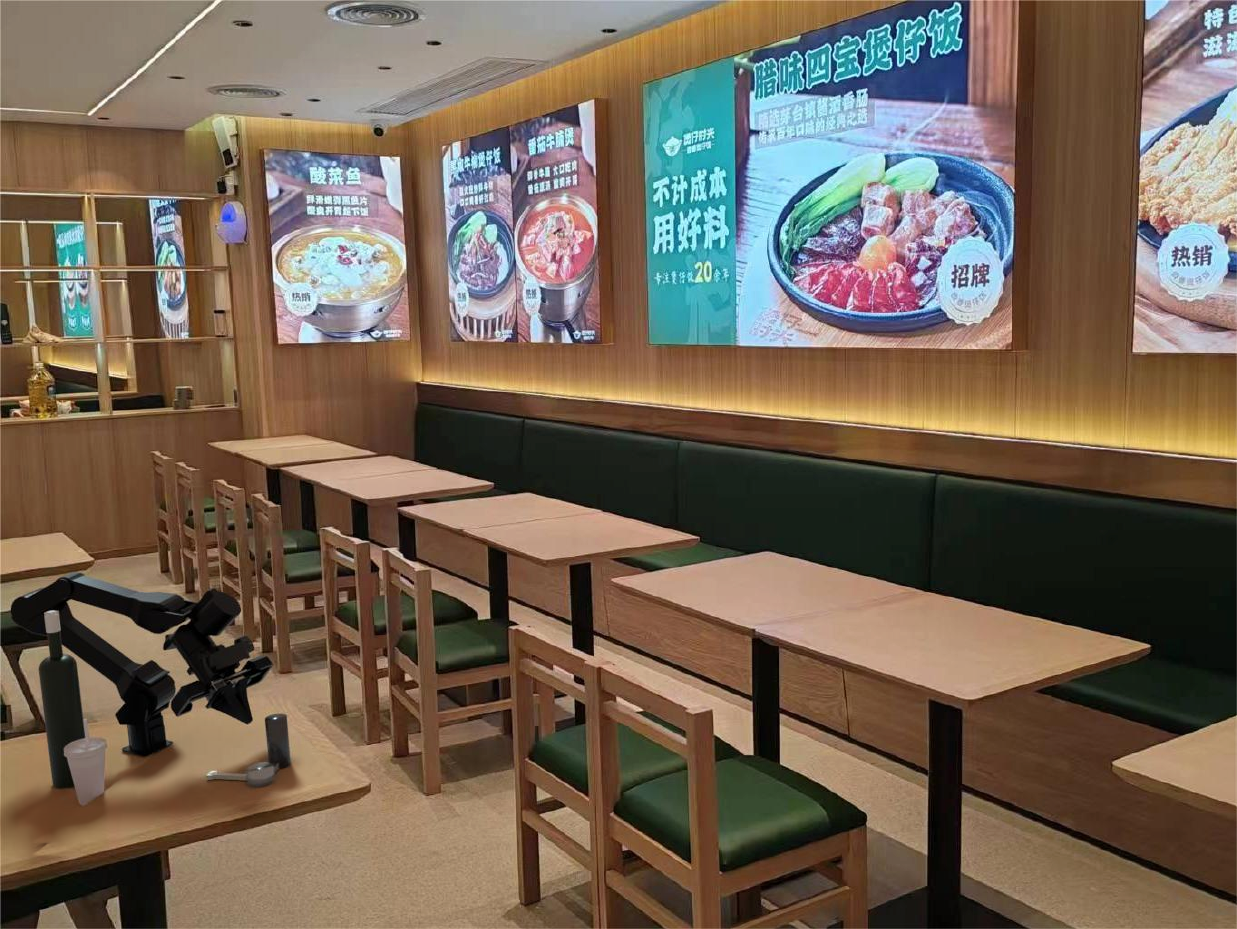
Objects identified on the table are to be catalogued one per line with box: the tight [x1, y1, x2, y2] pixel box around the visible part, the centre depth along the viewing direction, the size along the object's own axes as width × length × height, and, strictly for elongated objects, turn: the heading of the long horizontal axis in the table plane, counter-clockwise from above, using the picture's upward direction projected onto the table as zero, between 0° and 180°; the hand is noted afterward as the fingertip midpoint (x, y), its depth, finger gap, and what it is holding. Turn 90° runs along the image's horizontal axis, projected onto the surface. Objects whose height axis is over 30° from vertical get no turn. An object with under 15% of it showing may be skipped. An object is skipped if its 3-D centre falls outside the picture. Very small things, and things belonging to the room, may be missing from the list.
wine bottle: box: [38, 610, 85, 789], centre depth 187 cm, size 6×6×30 cm
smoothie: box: [64, 718, 108, 807], centre depth 181 cm, size 6×6×14 cm
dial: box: [205, 713, 292, 788], centre depth 187 cm, size 10×12×8 cm
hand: (250, 722), depth 193 cm, fingers closed
